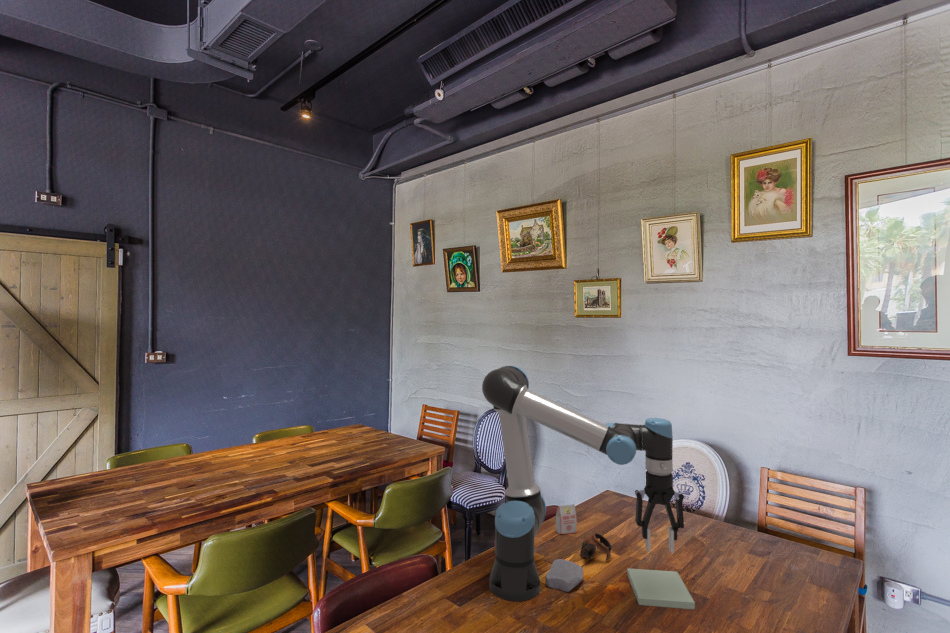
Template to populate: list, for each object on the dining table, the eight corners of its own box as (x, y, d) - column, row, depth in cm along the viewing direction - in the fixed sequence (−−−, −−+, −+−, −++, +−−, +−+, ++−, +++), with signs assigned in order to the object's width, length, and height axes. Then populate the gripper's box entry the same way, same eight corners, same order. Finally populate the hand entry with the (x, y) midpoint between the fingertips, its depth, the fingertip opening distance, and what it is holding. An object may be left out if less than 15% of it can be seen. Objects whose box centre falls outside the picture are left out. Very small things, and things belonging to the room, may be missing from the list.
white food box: (555, 530, 177) (555, 504, 177) (571, 528, 179) (571, 502, 179) (560, 535, 174) (560, 508, 174) (576, 532, 176) (576, 506, 176)
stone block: (584, 580, 146) (553, 567, 150) (587, 566, 145) (556, 553, 150) (575, 602, 135) (542, 587, 139) (578, 587, 135) (545, 572, 139)
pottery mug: (584, 547, 164) (596, 528, 164) (606, 568, 159) (618, 548, 158) (570, 553, 155) (582, 533, 154) (592, 575, 149) (606, 554, 148)
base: (638, 605, 131) (638, 598, 131) (627, 574, 147) (627, 568, 147) (694, 609, 129) (694, 602, 129) (677, 578, 145) (677, 571, 145)
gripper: (628, 474, 136) (629, 554, 135) (696, 477, 133) (697, 558, 133) (623, 466, 143) (624, 542, 143) (688, 468, 141) (688, 545, 140)
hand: (659, 549), depth 138 cm, fingers open, 6 cm apart
